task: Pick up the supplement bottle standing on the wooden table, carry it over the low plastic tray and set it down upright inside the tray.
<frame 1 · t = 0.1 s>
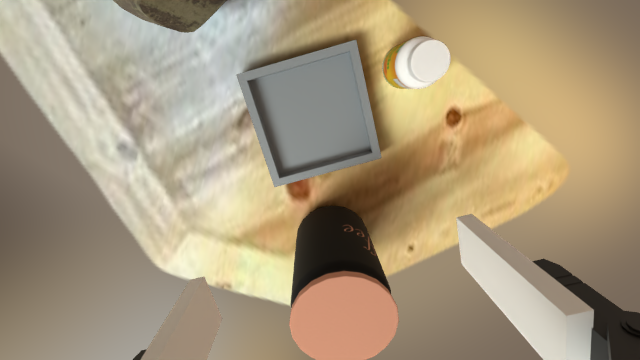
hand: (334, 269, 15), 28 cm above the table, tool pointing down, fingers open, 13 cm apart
tray: (312, 116, 40), on the table
supplement bottle: (401, 67, 39), on the table
coffee jar: (331, 233, 46), on the table
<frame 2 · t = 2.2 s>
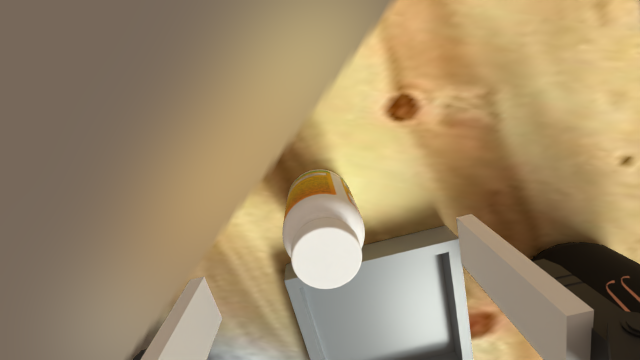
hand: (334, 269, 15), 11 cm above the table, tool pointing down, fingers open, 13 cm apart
tray: (380, 310, 29), on the table
supplement bottle: (319, 197, 26), on the table
coffee jar: (558, 283, 30), on the table
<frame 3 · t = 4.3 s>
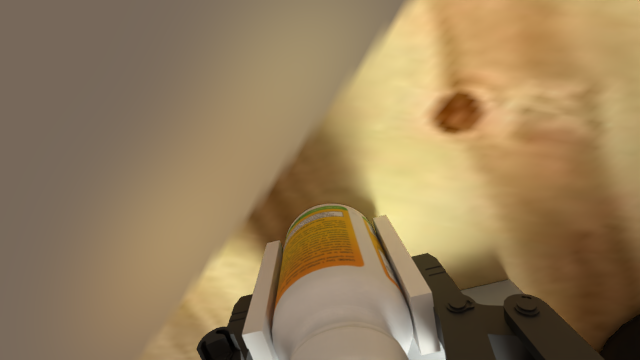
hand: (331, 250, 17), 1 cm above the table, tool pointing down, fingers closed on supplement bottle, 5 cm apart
supplement bottle: (330, 241, 18), on the table, touching gripper
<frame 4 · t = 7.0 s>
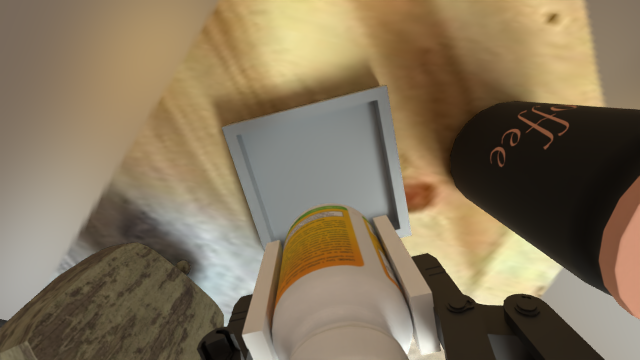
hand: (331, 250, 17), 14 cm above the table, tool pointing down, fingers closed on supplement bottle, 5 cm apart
tray: (322, 177, 31), on the table
tabletop clock: (174, 273, 34), on the table
supplement bottle: (330, 241, 18), point 13 cm above the table, touching gripper
coffee jar: (494, 153, 31), on the table
when the fingers open (3 cm above the table, at t = 9.8 s): supplement bottle stays where it is, resting on tray.
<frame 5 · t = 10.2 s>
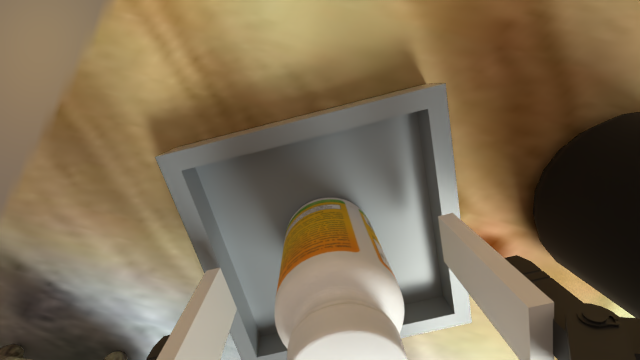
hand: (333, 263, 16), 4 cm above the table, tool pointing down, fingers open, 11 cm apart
tray: (328, 229, 19), on the table
supplement bottle: (328, 233, 19), point 1 cm above the table, touching tray
coffee jar: (601, 191, 19), on the table
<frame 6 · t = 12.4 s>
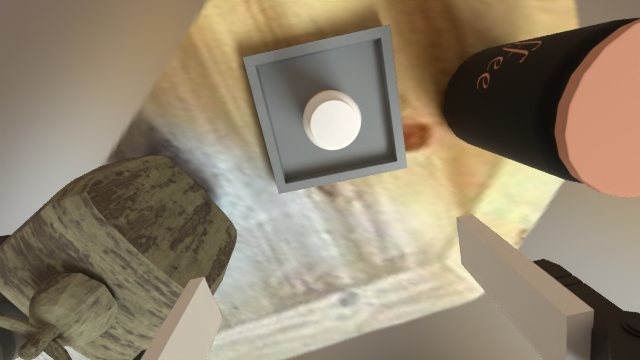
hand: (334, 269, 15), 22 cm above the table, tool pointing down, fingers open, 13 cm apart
tray: (328, 113, 34), on the table
tabletop clock: (191, 200, 37), on the table
supplement bottle: (328, 114, 34), point 1 cm above the table, touching tray
coffee jar: (484, 98, 34), on the table
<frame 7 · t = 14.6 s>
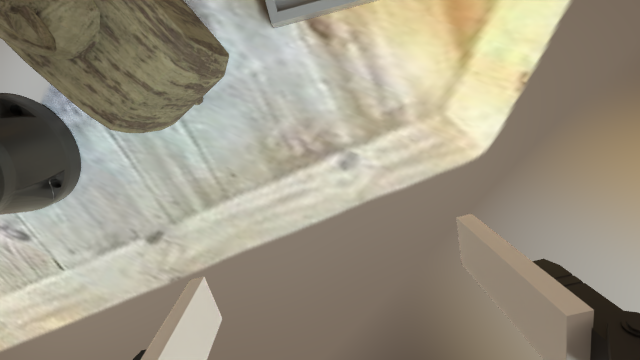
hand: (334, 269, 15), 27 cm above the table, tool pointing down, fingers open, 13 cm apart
tabletop clock: (182, 48, 36), on the table
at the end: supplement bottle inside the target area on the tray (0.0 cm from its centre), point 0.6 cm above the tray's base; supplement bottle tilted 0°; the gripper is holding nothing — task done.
